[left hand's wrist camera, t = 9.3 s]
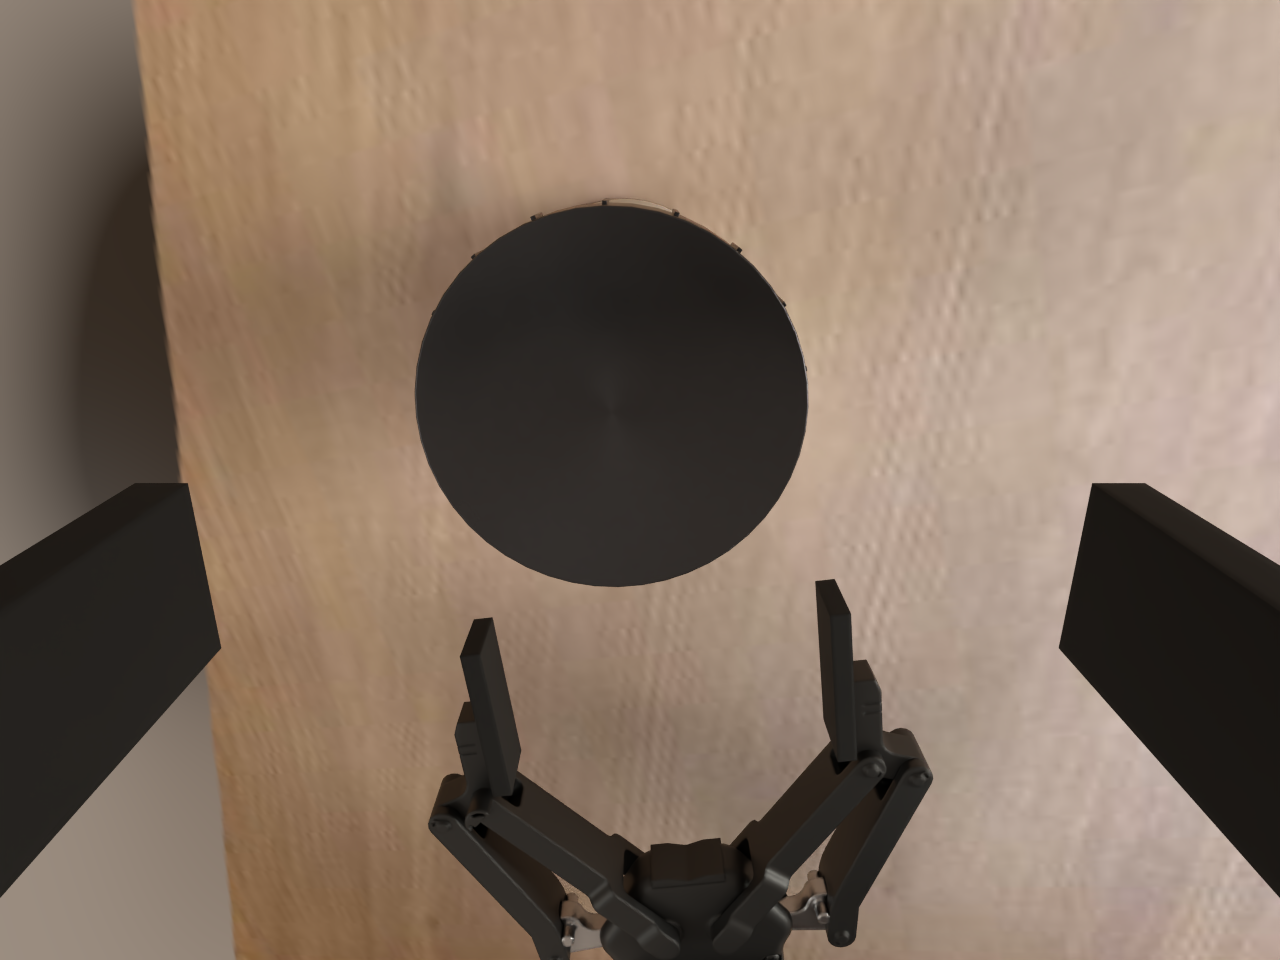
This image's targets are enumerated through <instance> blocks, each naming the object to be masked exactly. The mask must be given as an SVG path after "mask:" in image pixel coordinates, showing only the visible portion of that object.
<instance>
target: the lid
mask: <svg viewBox="0 0 1280 960" xmlns="http://www.w3.org/2000/svg"><path fill="white" fill-rule="evenodd" d="M679 214H680V213H679V212H678V211H677V210H675V209H673V210H672V212H669V211H666V210H663V209H660V208H656V207H650V206H645V205H639V204H634V203H613V202H609V199H604V200H602V203H594V204H584V205H578V206H574V207H570V208H566V209H562V210H558V211H555V212H552V213H550V214H547V215H545V216H543V214H542V213H539V214H536V215H534V216H531V217H530V218H531V220H532V221H530V222H528V223H525V224H523V225H521V226H519V227H518V228H516V229H514V230H512V231H511V232H509V233H507V234H505V235H503V236H502V237H500V238H498V239H497V240H496V241H495V242H493V243H492V244H491V245H489V246H488V247H487V248H485V249H484V250H482V251H480V252H478V253H476V254H474V255H473V256H472V257H471V258H472V259H473V260H472V261H471V262H470V263H469V264H468V265H467V266H466V267H465V268H464V269H463V270H462V271H461V272H460V273H459V274H458V276H457V277H456V278H455V280H454V281H453V282H452V284H451V285H450V286H449V288H448V289H447V290H446V292H445V293H444V295H443V296H442V298H441V300H440V302H439V304H438V306H437V308H436V309H435V310H434V311H433V313H432V317H431V319H430V322H429V325H428V327H427V330H426V333H425V335H424V338H423V341H422V345H421V349H420V354H419V358H418V363H417V369H416V382H415V405H416V418H417V424H418V429H419V434H420V439H421V443H422V446H423V449H424V452H425V455H426V458H427V461H428V464H429V466H430V468H431V470H432V472H433V474H434V476H435V478H436V480H437V483H438V485H439V487H440V488H441V490H442V491H443V493H444V494H445V496H446V497H447V499H448V500H449V502H450V503H451V505H452V506H453V508H454V509H455V510H456V511H457V512H458V514H459V515H460V516H461V517H462V518H463V519H464V521H465V522H466V523H467V524H468V525H469V526H470V527H471V528H472V529H473V530H474V531H475V532H476V533H477V534H478V535H480V536H481V537H482V538H483V539H484V540H485V541H486V542H487V543H489V544H490V545H492V546H493V547H494V548H496V549H497V550H498V551H500V552H501V553H503V554H504V555H505V556H507V557H509V558H511V559H513V560H514V561H516V562H518V563H520V564H522V565H524V566H525V567H527V568H530V569H532V570H535V571H537V572H540V573H542V574H545V575H547V576H550V577H554V578H557V579H561V580H564V581H568V582H572V583H578V584H585V585H591V586H607V587H624V586H636V585H645V584H650V583H655V582H660V581H665V580H668V579H671V578H674V577H677V576H680V575H683V574H686V573H689V572H691V571H693V570H695V569H697V568H700V567H702V566H704V565H706V564H708V563H710V562H712V561H713V560H715V559H716V558H718V557H720V556H721V555H723V554H724V553H726V552H728V551H729V550H731V549H732V548H733V547H734V546H735V545H737V544H738V543H739V542H740V541H742V540H743V539H744V538H745V537H747V536H748V535H749V534H750V533H751V532H752V531H753V530H754V529H755V528H756V526H757V525H758V524H759V523H760V522H761V521H762V520H763V519H764V518H765V517H766V515H767V514H768V513H769V511H770V510H771V509H772V507H773V506H774V505H775V503H776V502H777V501H778V499H779V498H780V496H781V494H782V492H783V491H784V489H785V487H786V485H787V483H788V482H789V480H790V478H791V475H792V473H793V470H794V468H795V465H796V463H797V460H798V458H799V455H800V452H801V448H802V444H803V440H804V436H805V432H806V423H807V414H808V380H807V374H806V371H807V367H806V366H805V361H804V356H803V352H802V349H801V346H800V343H799V339H798V336H797V333H796V330H795V328H794V326H793V324H792V322H791V319H790V317H789V315H788V313H787V311H786V309H785V306H786V304H785V302H784V301H783V300H782V299H781V298H780V297H779V296H777V294H776V293H775V291H774V290H773V288H772V287H771V285H770V284H769V283H768V282H767V281H766V279H765V278H764V277H763V276H762V275H761V274H760V272H759V271H758V270H757V269H756V268H755V267H754V265H752V264H751V263H750V262H749V261H748V260H747V259H746V258H745V257H743V256H742V255H741V254H740V253H741V251H742V249H741V248H739V247H738V246H737V245H736V244H734V243H733V242H732V244H731V245H730V244H729V243H727V242H726V241H725V240H723V239H722V238H720V237H719V236H717V235H716V234H714V233H713V232H711V231H710V230H708V229H707V228H705V227H704V226H702V225H700V224H698V223H696V222H693V221H691V220H689V219H687V218H685V217H683V216H681V215H679Z"/></svg>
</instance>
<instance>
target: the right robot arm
mask: <svg viewBox="0 0 1280 960" xmlns="http://www.w3.org/2000/svg"><path fill="white" fill-rule="evenodd" d="M815 584H816V600H817V617H818V634H819V650H820V667H821V684H822V700H823V717H824V722H825V725H826V728H827V731H828V734H829V737H830V740H831V741H830V742H829V744H828V745H827V746H826V747H825V748H824V749H823V750H822V752H821V753H820V754H819V755H818V756H817V757H816V758H815V759H814V761H813V762H812V763H811V764H810V765H809V766H808V767H807V768H806V770H805V771H804V772H803V773H802V774H801V775H800V776H799V778H798V779H797V780H796V781H795V782H794V783H793V784H792V785H791V787H790V788H789V789H788V790H787V791H786V792H785V793H784V794H783V796H782V797H781V798H780V799H779V800H778V801H777V802H776V804H775V805H774V806H773V807H772V808H771V809H770V810H769V811H768V813H767V814H766V815H765V816H764V817H763V818H762V819H761V820H760V821H759V822H757V821H755V820H753V821H751V822H750V823H749V824H748V825H747V826H746V828H745V829H744V830H743V831H742V832H741V833H740V834H739V835H738V837H737V838H736V839H735V840H734V841H733V842H732V843H731V845H727V844H721V840H720V838H715V839H705V840H701V841H697V842H694V843H691V844H688V845H680V844H671V843H664V844H654V845H651V851H648V852H646V853H644V852H642V851H641V850H640V849H638V848H637V847H636V846H634V845H633V844H631V843H630V842H629V841H627V840H626V839H624V838H623V837H622V836H620V835H618V834H613V835H612V836H608V835H607V834H605V833H604V832H602V831H601V830H600V829H598V828H597V827H595V826H594V825H593V824H591V823H590V822H588V821H587V820H586V819H584V818H583V817H581V816H580V815H579V814H577V813H576V812H574V811H573V810H572V809H570V808H569V807H567V806H566V805H564V804H563V803H562V802H560V801H559V800H557V799H556V798H555V797H553V796H552V795H550V794H549V793H548V792H546V791H545V790H543V789H542V788H541V787H539V786H538V785H536V784H535V783H534V782H532V781H531V780H529V779H528V778H527V777H525V776H524V775H522V774H521V773H520V772H518V771H517V768H518V763H519V759H520V754H521V747H520V743H519V738H518V733H517V729H516V724H515V719H514V715H513V710H512V706H511V701H510V696H509V692H508V687H507V682H506V678H505V673H504V669H503V664H502V659H501V655H500V650H499V646H498V641H497V636H496V632H495V627H494V622H493V618H492V617H491V618H483V619H474V621H473V623H472V626H471V629H470V631H469V634H468V637H467V639H466V642H465V644H464V647H463V650H462V652H461V655H460V659H461V663H462V668H463V672H464V676H465V680H466V685H467V689H468V693H469V697H470V702H464V704H463V707H462V710H461V713H460V716H459V719H458V722H457V726H456V730H455V739H456V743H457V746H458V751H459V754H460V759H461V763H462V767H463V771H464V775H460V774H450V775H447V776H446V777H445V778H443V781H442V783H441V786H440V789H439V792H438V795H437V798H436V801H435V804H434V807H433V810H432V813H431V817H430V820H429V823H428V826H429V830H430V831H431V833H432V834H433V835H434V836H435V837H436V838H437V839H438V840H439V841H440V842H441V843H442V844H443V845H444V846H445V847H446V848H447V849H448V850H449V851H450V852H451V853H452V855H453V856H454V857H455V858H456V859H457V860H458V861H459V862H460V863H461V864H462V865H463V866H464V867H465V868H466V869H467V870H468V871H469V872H470V873H471V874H472V875H473V876H474V877H475V878H476V880H477V881H478V882H479V883H480V884H481V885H482V886H483V887H484V888H485V889H486V890H487V891H488V892H489V893H490V894H491V895H492V896H493V897H494V898H495V899H496V900H497V901H498V902H499V903H500V905H501V906H502V907H503V908H504V909H505V910H506V911H507V912H508V913H509V914H510V915H511V916H512V917H513V918H514V919H515V920H516V921H517V922H518V923H519V924H520V925H521V926H522V927H523V928H524V930H525V931H526V932H527V933H528V934H529V935H530V936H531V937H532V939H533V942H534V944H535V947H536V949H537V952H538V954H539V957H540V959H541V960H570V953H571V952H576V951H582V950H587V949H593V948H598V947H603V948H604V950H605V951H606V952H607V953H608V954H609V955H610V956H611V957H612V958H613V960H784V955H783V946H784V943H785V941H786V939H787V938H788V936H789V935H790V933H791V930H826V933H827V937H828V941H829V942H830V943H831V944H832V945H834V946H836V947H846V946H848V945H850V944H852V943H853V942H854V940H855V938H856V930H857V921H858V911H859V906H860V905H861V903H862V901H863V900H864V898H865V896H866V894H867V893H868V891H869V889H870V888H871V886H872V884H873V882H874V881H875V879H876V877H877V876H878V874H879V872H880V870H881V869H882V867H883V865H884V864H885V862H886V860H887V859H888V857H889V855H890V853H891V852H892V850H893V848H894V847H895V845H896V843H897V841H898V840H899V838H900V836H901V835H902V833H903V831H904V829H905V828H906V826H907V824H908V823H909V821H910V819H911V817H912V816H913V814H914V812H915V811H916V809H917V807H918V806H919V804H920V802H921V800H922V799H923V797H924V795H925V794H926V792H927V790H928V788H929V787H930V785H931V783H932V780H933V775H932V772H931V770H930V768H929V766H928V764H927V762H926V760H925V758H924V756H923V754H922V752H921V750H920V747H919V745H918V743H917V741H916V739H915V737H914V735H913V734H912V732H911V731H909V730H908V729H904V728H899V729H895V730H893V731H891V732H886V731H882V704H881V702H882V700H881V689H880V687H879V685H878V682H877V680H876V678H875V676H874V674H873V672H872V669H871V668H870V666H869V664H868V662H867V660H858V661H853V650H852V627H851V613H850V611H849V609H848V606H847V604H846V602H845V600H844V598H843V596H842V594H841V592H840V590H839V587H838V585H837V583H836V581H835V579H831V580H822V581H815ZM836 827H837V828H836ZM835 829H836V830H835ZM834 830H835V832H834V833H833V835H832V837H831V839H830V841H829V842H828V844H827V846H826V848H825V850H824V852H823V854H822V857H821V860H820V864H819V870H818V871H816V870H812V871H810V872H809V873H808V874H807V877H808V881H807V882H806V883H805V885H804V887H803V889H802V891H801V892H800V893H798V894H797V895H794V896H787V894H786V892H787V889H788V885H789V880H790V878H791V876H792V875H793V874H794V873H795V872H796V870H797V869H798V868H799V867H800V866H801V865H802V864H803V863H804V862H805V861H806V860H807V859H808V858H809V856H810V855H811V854H812V853H813V852H814V851H815V850H816V849H817V848H818V847H819V846H820V845H821V844H822V842H823V841H824V840H825V839H826V838H827V837H828V836H829V835H830V834H831V833H832V832H833V831H834ZM552 872H554V873H555V874H557V875H558V876H560V877H561V878H562V879H564V880H565V881H567V882H568V883H570V884H571V885H573V886H574V887H576V888H577V889H579V890H580V891H581V892H583V893H584V894H586V895H587V896H588V897H589V899H590V901H591V904H592V906H593V908H594V909H595V911H596V912H597V913H598V914H594V913H590V912H588V911H586V910H585V909H584V908H583V907H582V905H581V904H580V903H578V896H577V895H576V894H575V893H568V894H567V895H566V892H565V890H564V888H563V886H562V885H561V883H560V881H559V880H558V879H557V877H556V876H555V875H554V874H553V873H552ZM623 875H624V877H623Z"/></svg>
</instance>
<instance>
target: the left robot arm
mask: <svg viewBox="0 0 1280 960" xmlns="http://www.w3.org/2000/svg"><path fill="white" fill-rule="evenodd" d="M220 649H221V644H220V640H219V635H218V630H217V625H216V620H215V615H214V610H213V605H212V600H211V595H210V590H209V585H208V580H207V576H206V571H205V566H204V561H203V556H202V551H201V546H200V541H199V536H198V531H197V526H196V521H195V516H194V512H193V507H192V502H191V497H190V492H189V487H188V483H135V484H133V485H131V486H130V487H128V488H126V489H125V490H123V491H122V492H120V493H118V494H117V495H115V496H113V497H112V498H110V499H108V500H107V501H105V502H103V503H102V504H100V505H99V506H97V507H95V508H94V509H92V510H90V511H89V512H87V513H85V514H84V515H82V516H81V517H79V518H77V519H76V520H74V521H72V522H71V523H69V524H67V525H66V526H64V527H63V528H61V529H59V530H58V531H56V532H54V533H53V534H51V535H49V536H48V537H46V538H45V539H43V540H41V541H40V542H38V543H36V544H35V545H33V546H31V547H30V548H28V549H27V550H25V551H23V552H22V553H20V554H18V555H17V556H15V557H13V558H12V559H10V560H9V561H7V562H5V563H4V564H2V565H0V897H1V896H2V895H3V894H4V893H5V892H6V891H7V890H8V888H9V887H10V886H11V885H12V884H13V883H14V882H15V880H16V879H17V878H18V877H19V876H20V875H21V874H22V873H23V871H24V870H25V869H26V868H27V867H28V866H29V865H30V864H31V862H32V861H33V860H34V859H35V858H36V857H37V856H38V854H39V853H40V852H41V851H42V850H43V849H44V848H45V847H46V845H47V844H48V843H49V842H50V841H51V840H52V839H53V838H54V836H55V835H56V834H57V833H58V832H59V831H60V830H61V829H62V827H63V826H64V825H65V824H66V823H67V822H68V821H69V819H70V818H71V817H72V816H73V815H74V814H75V813H76V812H77V810H78V809H79V808H80V807H81V806H82V805H83V804H84V802H85V801H86V800H87V799H88V798H89V797H90V796H91V795H92V793H93V792H94V791H95V790H96V789H97V788H98V787H99V786H100V784H101V783H102V782H103V781H104V780H105V779H106V778H107V777H108V775H109V774H110V773H111V772H112V771H113V770H114V769H115V767H116V766H117V765H118V764H119V763H120V762H121V761H122V760H123V758H124V757H125V756H126V755H127V754H128V753H129V752H130V751H131V749H132V748H133V747H134V746H135V745H136V744H137V743H138V742H139V740H140V739H141V738H142V737H143V736H144V735H145V734H146V732H147V731H148V730H149V729H150V728H151V727H152V726H153V725H154V723H155V722H156V721H157V720H158V719H159V718H160V717H161V715H162V714H163V713H164V712H165V711H166V710H167V709H168V708H169V706H170V705H171V704H172V703H173V702H174V701H175V700H176V699H177V697H178V696H179V695H180V694H181V693H182V692H183V691H184V689H185V688H186V687H187V686H188V685H189V684H190V683H191V682H192V680H193V679H194V678H195V677H196V676H197V675H198V674H199V673H200V671H201V670H202V669H203V668H204V667H205V666H206V665H207V664H208V662H209V661H210V660H211V659H212V658H213V657H214V656H215V655H216V653H217V652H218V651H219V650H220ZM1059 649H1060V650H1061V651H1062V652H1063V653H1064V655H1065V656H1066V657H1067V658H1068V659H1069V660H1070V661H1071V662H1072V664H1073V665H1074V666H1075V667H1076V668H1077V669H1078V670H1079V671H1080V673H1081V674H1082V675H1083V676H1084V677H1085V678H1086V679H1087V680H1088V682H1089V683H1090V684H1091V685H1092V686H1093V687H1094V688H1095V690H1096V691H1097V692H1098V693H1099V694H1100V695H1101V696H1102V697H1103V699H1104V700H1105V701H1106V702H1107V703H1108V704H1109V705H1110V706H1111V708H1112V709H1113V710H1114V711H1115V712H1116V713H1117V714H1118V716H1119V717H1120V718H1121V719H1122V720H1123V721H1124V722H1125V723H1126V725H1127V726H1128V727H1129V728H1130V729H1131V730H1132V731H1133V732H1134V734H1135V735H1136V736H1137V737H1138V738H1139V739H1140V740H1141V742H1142V743H1143V744H1144V745H1145V746H1146V747H1147V748H1148V749H1149V751H1150V752H1151V753H1152V754H1153V755H1154V756H1155V757H1156V758H1157V760H1158V761H1159V762H1160V763H1161V764H1162V765H1163V766H1164V767H1165V769H1166V770H1167V771H1168V772H1169V773H1170V774H1171V775H1172V777H1173V778H1174V779H1175V780H1176V781H1177V782H1178V783H1179V784H1180V786H1181V787H1182V788H1183V789H1184V790H1185V791H1186V792H1187V793H1188V795H1189V796H1190V797H1191V798H1192V799H1193V800H1194V801H1195V803H1196V804H1197V805H1198V806H1199V807H1200V808H1201V809H1202V810H1203V812H1204V813H1205V814H1206V815H1207V816H1208V817H1209V818H1210V819H1211V821H1212V822H1213V823H1214V824H1215V825H1216V826H1217V827H1218V829H1219V830H1220V831H1221V832H1222V833H1223V834H1224V835H1225V836H1226V838H1227V839H1228V840H1229V841H1230V842H1231V843H1232V844H1233V845H1234V847H1235V848H1236V849H1237V850H1238V851H1239V852H1240V853H1241V854H1242V856H1243V857H1244V858H1245V859H1246V860H1247V861H1248V862H1249V864H1250V865H1251V866H1252V867H1253V868H1254V869H1255V870H1256V871H1257V873H1258V874H1259V875H1260V876H1261V877H1262V878H1263V879H1264V880H1265V882H1266V883H1267V884H1268V885H1269V886H1270V887H1271V888H1272V890H1273V891H1274V892H1275V893H1276V894H1277V895H1278V896H1279V897H1280V565H1278V564H1276V563H1275V562H1273V561H1271V560H1270V559H1268V558H1267V557H1265V556H1263V555H1262V554H1260V553H1258V552H1257V551H1255V550H1253V549H1252V548H1250V547H1249V546H1247V545H1245V544H1244V543H1242V542H1240V541H1239V540H1237V539H1235V538H1234V537H1232V536H1231V535H1229V534H1227V533H1226V532H1224V531H1222V530H1221V529H1219V528H1217V527H1216V526H1214V525H1213V524H1211V523H1209V522H1208V521H1206V520H1204V519H1203V518H1201V517H1199V516H1198V515H1196V514H1195V513H1193V512H1191V511H1190V510H1188V509H1186V508H1185V507H1183V506H1181V505H1180V504H1178V503H1177V502H1175V501H1173V500H1172V499H1170V498H1168V497H1167V496H1165V495H1163V494H1162V493H1160V492H1158V491H1157V490H1155V489H1154V488H1152V487H1150V486H1149V485H1147V484H1145V483H1092V487H1091V492H1090V497H1089V502H1088V507H1087V512H1086V516H1085V521H1084V526H1083V531H1082V536H1081V541H1080V546H1079V551H1078V556H1077V561H1076V566H1075V571H1074V576H1073V580H1072V585H1071V590H1070V595H1069V600H1068V605H1067V610H1066V615H1065V620H1064V625H1063V630H1062V635H1061V640H1060V644H1059Z"/></svg>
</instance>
